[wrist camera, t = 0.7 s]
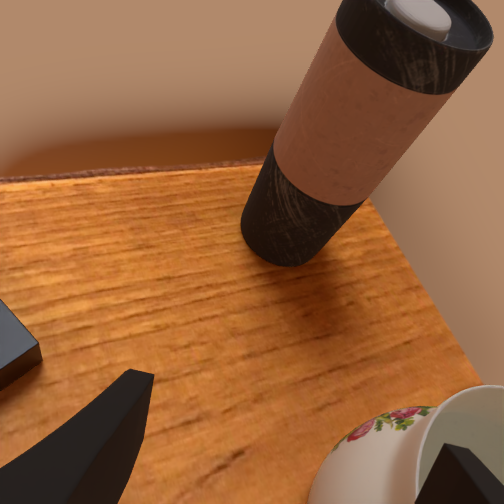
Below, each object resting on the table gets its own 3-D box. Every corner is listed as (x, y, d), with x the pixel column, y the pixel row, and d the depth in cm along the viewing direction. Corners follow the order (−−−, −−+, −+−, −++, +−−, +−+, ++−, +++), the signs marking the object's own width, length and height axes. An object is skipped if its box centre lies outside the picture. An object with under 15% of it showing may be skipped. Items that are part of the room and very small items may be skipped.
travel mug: (336, 260, 38) (525, 54, 21) (258, 279, 34) (414, 50, 18) (298, 189, 41) (439, -37, 24) (223, 200, 37) (330, -55, 21)
